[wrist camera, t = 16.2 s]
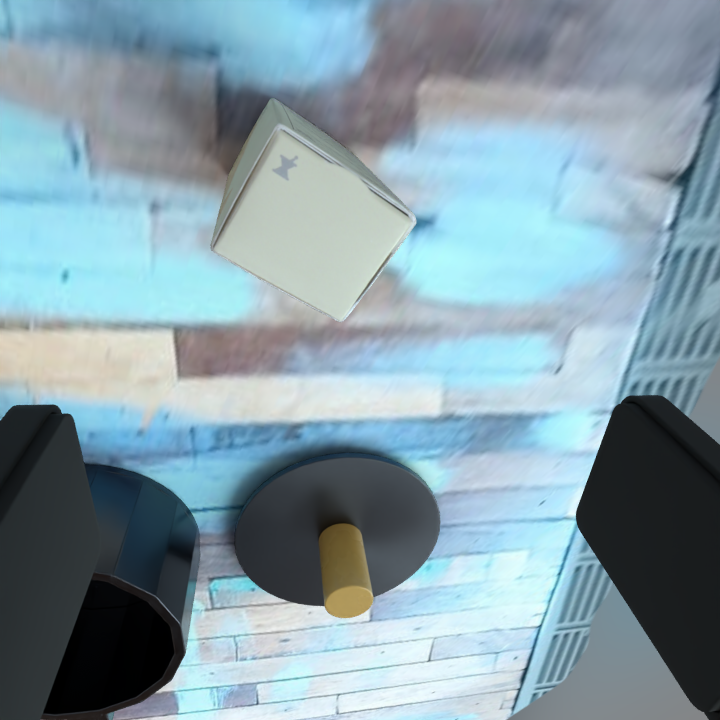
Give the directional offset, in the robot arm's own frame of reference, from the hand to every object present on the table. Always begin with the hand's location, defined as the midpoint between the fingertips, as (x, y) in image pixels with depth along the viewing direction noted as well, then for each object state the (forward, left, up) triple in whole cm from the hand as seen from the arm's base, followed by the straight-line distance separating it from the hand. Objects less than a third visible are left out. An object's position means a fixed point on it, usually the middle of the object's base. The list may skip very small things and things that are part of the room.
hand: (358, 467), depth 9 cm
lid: (+3, -22, -19) cm, 29 cm away
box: (0, +2, -20) cm, 20 cm away
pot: (-13, -22, -20) cm, 32 cm away
